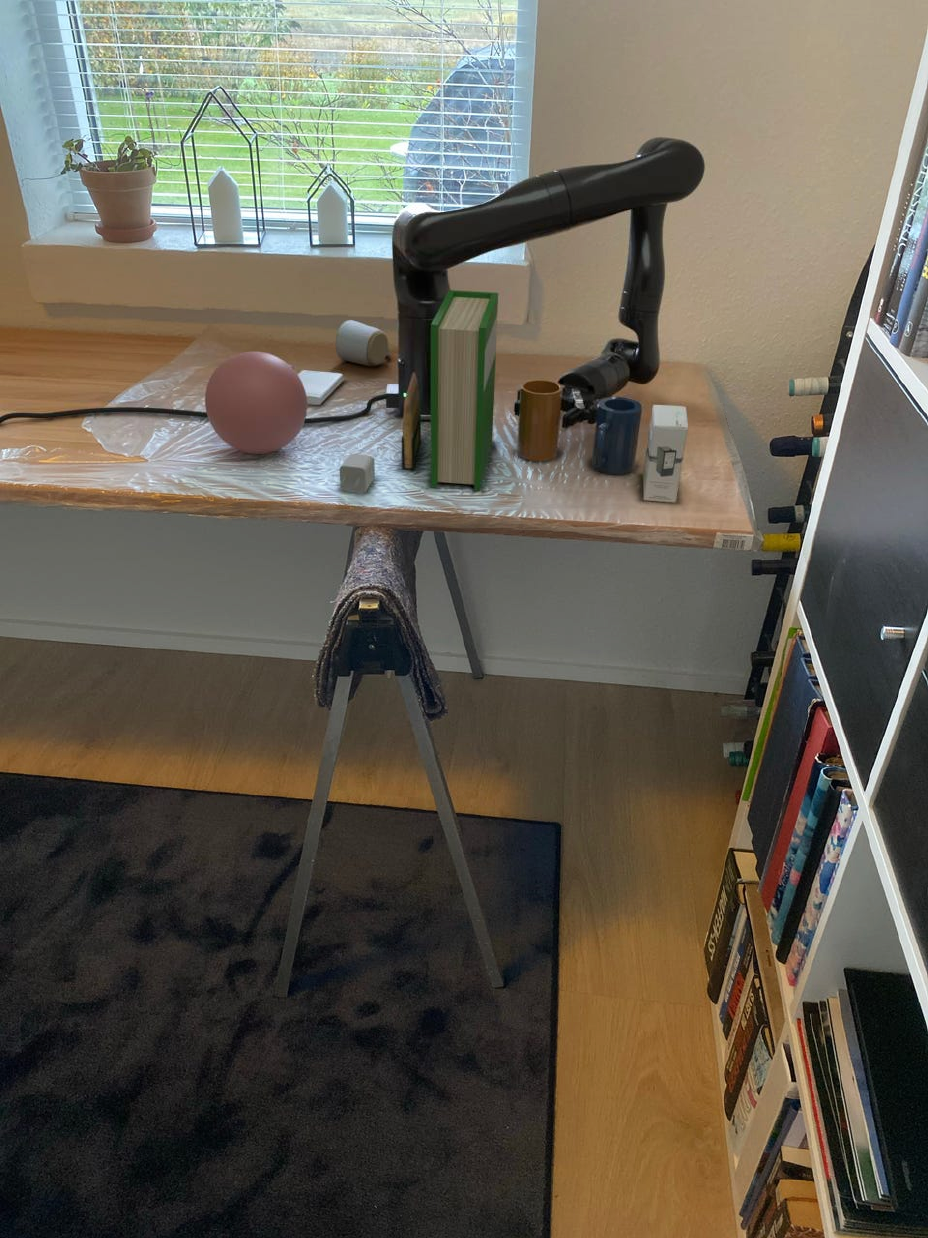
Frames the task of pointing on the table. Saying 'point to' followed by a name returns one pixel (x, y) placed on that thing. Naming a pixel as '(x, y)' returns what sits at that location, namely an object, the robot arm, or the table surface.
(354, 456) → the usb wall charger
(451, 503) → the table surface
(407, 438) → the ammunition clip
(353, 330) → the ceramic mug
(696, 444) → the table surface
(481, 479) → the hardback book
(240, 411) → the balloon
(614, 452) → the mug
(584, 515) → the table surface
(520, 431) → the tumbler
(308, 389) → the hard drive
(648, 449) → the ink box
